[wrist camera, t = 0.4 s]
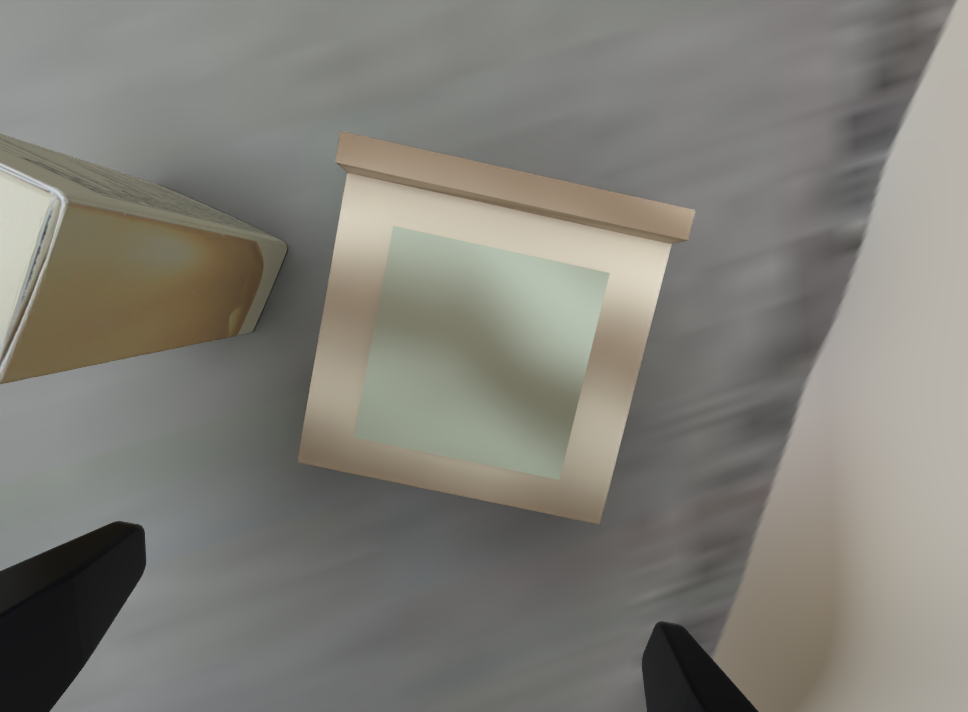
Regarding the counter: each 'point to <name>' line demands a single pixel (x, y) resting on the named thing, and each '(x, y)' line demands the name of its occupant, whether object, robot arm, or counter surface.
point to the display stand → (483, 328)
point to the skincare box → (116, 266)
